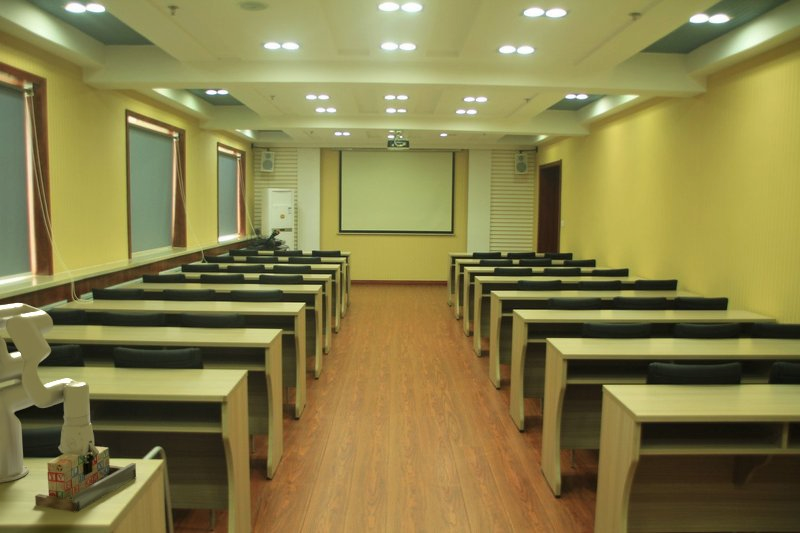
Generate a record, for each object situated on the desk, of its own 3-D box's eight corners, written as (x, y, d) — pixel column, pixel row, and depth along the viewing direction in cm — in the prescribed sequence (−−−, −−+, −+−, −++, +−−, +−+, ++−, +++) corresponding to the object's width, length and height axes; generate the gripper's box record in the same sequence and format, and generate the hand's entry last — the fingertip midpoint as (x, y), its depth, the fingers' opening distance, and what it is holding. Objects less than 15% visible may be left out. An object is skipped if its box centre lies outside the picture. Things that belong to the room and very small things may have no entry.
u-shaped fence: (35, 505, 192) (34, 489, 192) (98, 471, 217) (98, 457, 217) (76, 512, 188) (75, 496, 187) (136, 477, 213) (135, 463, 212)
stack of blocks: (94, 471, 215) (93, 437, 214) (110, 473, 214) (109, 439, 213) (48, 499, 194) (46, 461, 193) (65, 501, 193) (64, 463, 192)
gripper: (47, 420, 200) (49, 473, 202) (89, 426, 195) (91, 480, 197) (65, 413, 208) (67, 464, 209) (107, 419, 203) (108, 471, 204)
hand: (79, 471), depth 203 cm, fingers closed on stack of blocks, 6 cm apart
